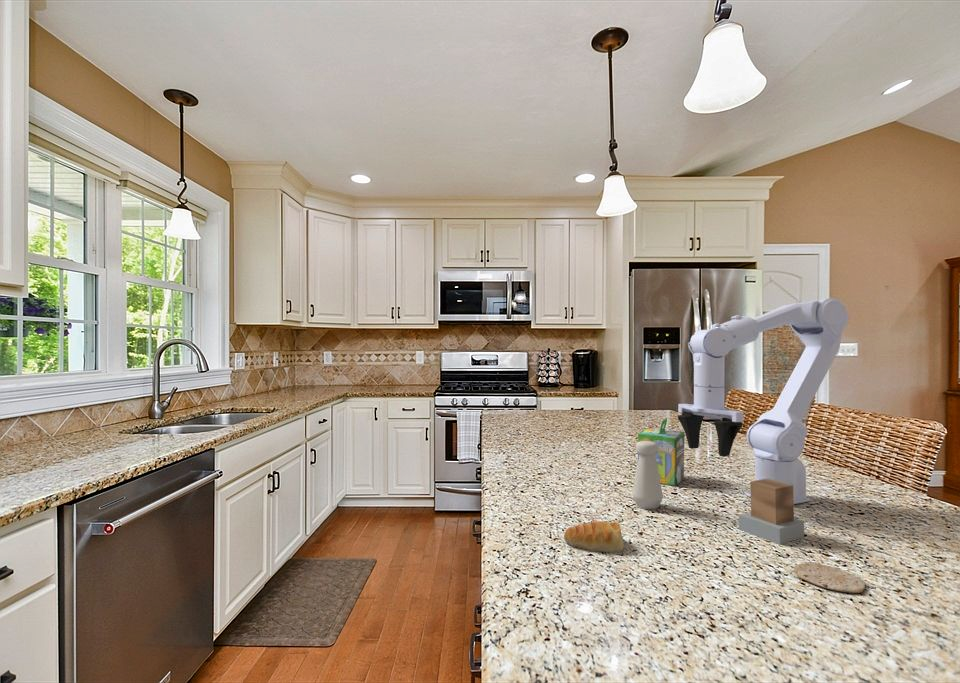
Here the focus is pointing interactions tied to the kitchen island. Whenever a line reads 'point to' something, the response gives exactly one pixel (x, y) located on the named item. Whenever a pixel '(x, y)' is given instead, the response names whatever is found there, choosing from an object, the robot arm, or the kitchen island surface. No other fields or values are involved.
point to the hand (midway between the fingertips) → (708, 451)
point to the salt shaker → (647, 477)
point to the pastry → (596, 536)
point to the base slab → (771, 529)
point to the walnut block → (772, 501)
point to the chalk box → (667, 452)
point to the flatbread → (829, 577)
